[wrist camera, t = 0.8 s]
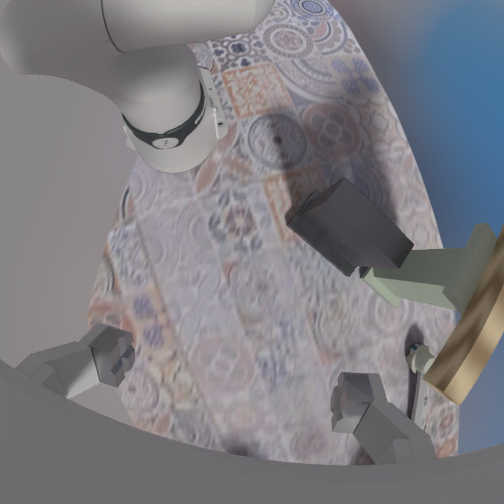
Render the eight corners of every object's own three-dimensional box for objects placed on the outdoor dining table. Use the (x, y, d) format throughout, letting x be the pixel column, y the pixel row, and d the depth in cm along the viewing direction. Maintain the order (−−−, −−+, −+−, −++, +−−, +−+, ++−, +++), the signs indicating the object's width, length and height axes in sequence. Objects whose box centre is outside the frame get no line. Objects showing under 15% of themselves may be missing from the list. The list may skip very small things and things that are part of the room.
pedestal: (391, 309, 52) (488, 339, 26) (357, 278, 52) (453, 293, 26) (417, 268, 53) (518, 273, 27) (385, 236, 52) (486, 222, 26)
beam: (438, 393, 25) (459, 405, 21) (421, 378, 25) (443, 391, 21) (520, 230, 27) (541, 228, 23) (508, 209, 27) (529, 205, 23)
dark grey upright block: (346, 276, 51) (393, 283, 35) (286, 225, 51) (314, 211, 34) (370, 241, 52) (423, 235, 35) (314, 190, 51) (350, 163, 35)
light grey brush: (409, 447, 49) (424, 359, 45) (397, 432, 55) (406, 345, 52) (427, 438, 49) (444, 350, 46) (414, 424, 56) (425, 338, 52)
